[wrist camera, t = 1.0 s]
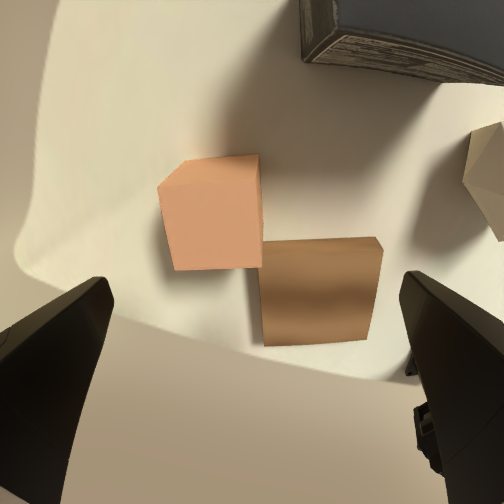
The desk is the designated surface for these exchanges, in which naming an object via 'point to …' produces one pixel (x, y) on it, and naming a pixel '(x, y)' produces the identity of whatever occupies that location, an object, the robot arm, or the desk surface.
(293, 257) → the walnut slab
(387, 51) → the small box
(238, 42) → the desk surface
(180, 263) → the terracotta cube
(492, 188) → the die
